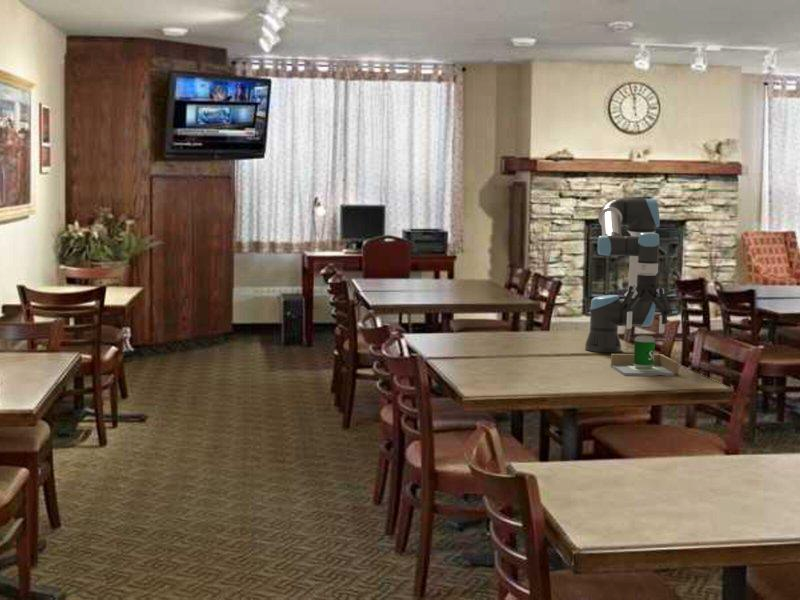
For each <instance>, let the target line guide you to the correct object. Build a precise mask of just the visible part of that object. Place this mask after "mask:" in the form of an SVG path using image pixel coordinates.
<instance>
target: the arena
mask: <svg viewBox="0 0 800 600" xmlns="http://www.w3.org/2000/svg"><path fill="white" fill-rule="evenodd" d="M627 366H634V353H611V354H610V368H612V369H614V370H615V371H617V372H619V373H620V374H621V375H623V376H624V377H631V376H633V377H635V376H636V377H655V376H654V375H665V376H664V377H679V367H680V363H679V362H678V361H677V360H674V359H672V358H671V357H669V356H666V355H665V354H662V353H660V354H659V353H654V367H656V368H657V369H659V370H661V371H634V370H632V369H631V368H629V367H627Z"/></svg>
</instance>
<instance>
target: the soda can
mask: <svg viewBox="0 0 800 600" xmlns="http://www.w3.org/2000/svg"><path fill="white" fill-rule="evenodd" d="M655 341H656V339H655V338H654V336H652V335H645V334H644V335H636V336H635V338H634V343H633V345H634V346H633V354H634V366H635V367H636V368H638V369H652V367H653V366H654V354H655V348H656V342H655Z"/></svg>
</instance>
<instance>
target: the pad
mask: <svg viewBox="0 0 800 600" xmlns="http://www.w3.org/2000/svg"><path fill="white" fill-rule="evenodd" d="M627 367H629V368H631V369H632V370H634V371H661V370H659V369H657V368H656V367H654V366H653V367H652V369H638V368H636V367H635V366H627Z"/></svg>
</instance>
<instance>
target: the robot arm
mask: <svg viewBox="0 0 800 600" xmlns="http://www.w3.org/2000/svg"><path fill="white" fill-rule="evenodd" d="M660 221H661V219H660V212H659V204H658V200H656V199H654V198H643V197H642V198H639V197H638V198H635V197H634V198H623V197H621V198H620V197H619V198H615V199H613V200H610V201H609V202H607V203H605V204H604V205H603V206H602V207H601V209H600V211H599V212H598V223H599V225H600V226H601V235H599V236H598V237H597V254H598V255H600V256H607V257H609V256H611V257H612V256H613V257H614V256H615V257H616V256H617V257H623V256H624V257H629V262H628V263H629V265H628V285H627V287H628V288H627V291H626V292H625V293H624V294H623V295H624V296H623V298H620V296H619V294H618V295H617V294H607V295H606V294H605V295H600V296H595V297H593V298H592V299H591V300H590V308H589V310H590V317H589V318H590V320H589V332H588V336H587V337H586V338H587V339H586V341H585V343H584V345H585V346H584V350H586V351H589V352H594V353H595V352H596V353H618V352H622V343H621V339H620V337H619V332H618V330H619V329H618V328H619V327H626V329H627V330H629V329H632V328H633V327H638V328H644V327H645V328H646V327H647V328H648V327H650V326H651V325H652V324H653V322H654V318H655V314H656V308H657V310H659V313H660V315H659V324H658V329H659V330H658V333H659V334H663V333H665V325H666V324H667V322H668V315H671V314H672V313H673V309H672V308H671V305H670V302H669V300H668V297H667V295H666V289H665V287H662V288H658V283H659V282H658V280H659V279H658V274H659V254H660V251H659V250H660V242H661V241H660V234H659V233H658V232H657V233H656V231H657V230H656V229H657V228H660V225H661V224H660V223H661V222H660ZM622 227H626V230H627V231H626V232H628V234H629V235H630V236H629V235H623V234H622ZM657 294H658V295H659V297H658V295H657ZM659 298H660V299H659Z"/></svg>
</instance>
